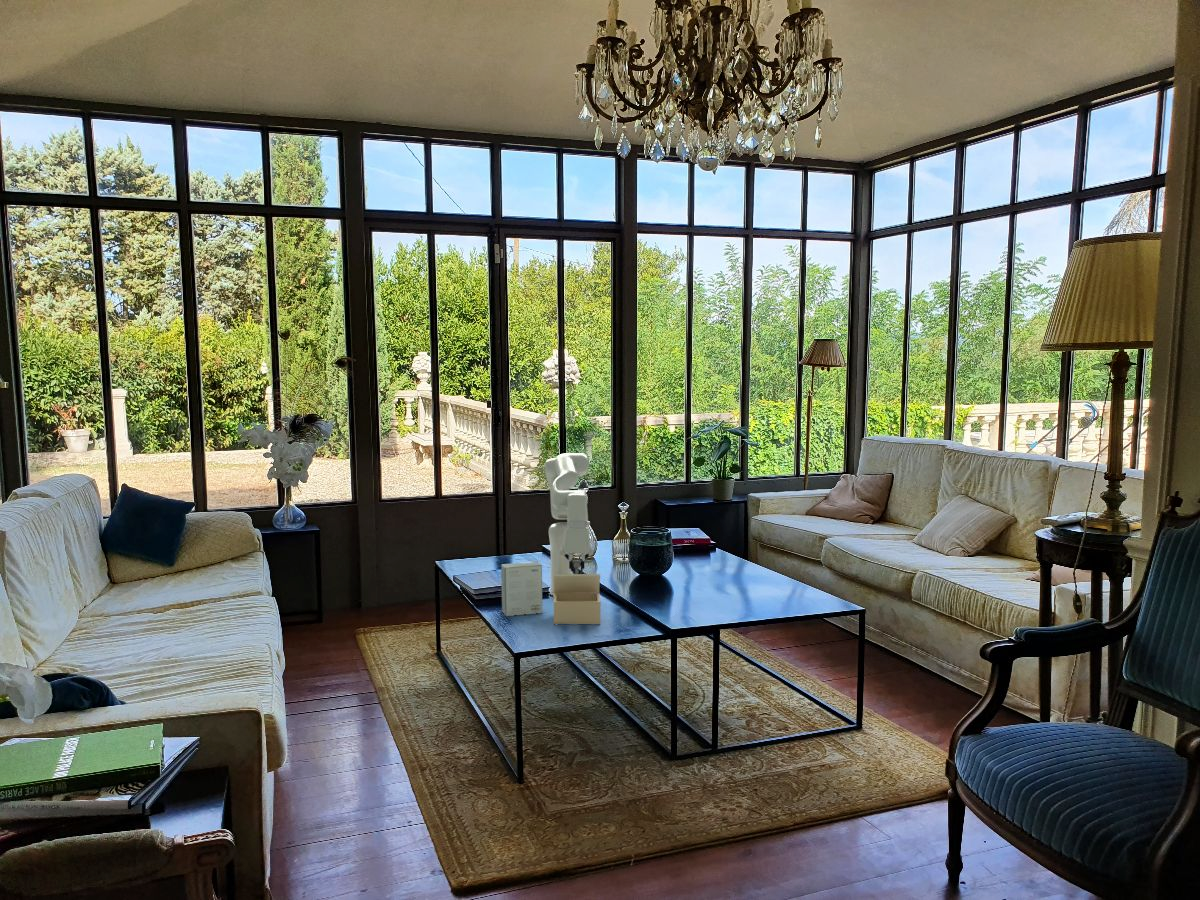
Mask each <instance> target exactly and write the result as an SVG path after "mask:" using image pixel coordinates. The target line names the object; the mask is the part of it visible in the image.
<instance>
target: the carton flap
mask: <svg viewBox="0 0 1200 900" xmlns="http://www.w3.org/2000/svg"><path fill="white" fill-rule="evenodd" d="M580 568H581V560H573V569H575V571H574V572H575V574H574V573H572V574H554V593H599V594H600V585H601V584H600V583H601V574H600V573H579V569H580Z"/></svg>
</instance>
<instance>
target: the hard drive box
mask: <svg viewBox="0 0 1200 900" xmlns="http://www.w3.org/2000/svg"><path fill="white" fill-rule="evenodd" d="M500 567H501V568H500V569H501V570H500V573H501V575H500V577H501V609H502V610H501V612H502V613H504V614H503V615H504V616H505V617H515V616H514V615H517V616H524V614H526V615H537V614H536V613H538V614H543V613H542V612H544V611H543V565H542V564H541V563H540V562H539V561H526V562H525V561H524V562H515V563H504V564H503V563H502V564H501V565H500Z"/></svg>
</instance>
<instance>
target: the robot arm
mask: <svg viewBox="0 0 1200 900" xmlns="http://www.w3.org/2000/svg"><path fill="white" fill-rule="evenodd" d="M589 469H590V461H589V457H588V455H586V454H585V453H582V452H578V453H577V452H575V453H573V452H571V453H569V452H567V453H561V454H559V455H557V456H556V457H551V458H549V459H546V461H544V475H545V479H546V481H547V484H548V486H549V492H550V494H549V495H550V513H551V517H552V518H553V519H555V520H567V521H566V522H563V521H562V522H561V521H560V522H556V523H552V524H550V526H549V527H548V537H549V538H548V539H549V547H550V589H551V591H550V594H552V595H554V574H573V571H574V567H573V562H574V560H573V555H574V554H578V555H579V554H581V559H580V563H581V566H580V572H583V570H584V569H585V561H586V560H587V559H588V558H589V557H591V556H593V555H594V551H593V548H592V547H591V544H590V543H591V542H590V531H589V526H590V525H591V521H589V514H588V501H589V499H588V494H587V493H586V491H585V490H582V489H573V490H572V488H573V487H575V486H576V485H577V484H578V482H579V480H580V479H579V478H580V477H584V476H585V474H587V472H588V471H589Z"/></svg>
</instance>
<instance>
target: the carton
mask: <svg viewBox="0 0 1200 900" xmlns="http://www.w3.org/2000/svg"><path fill="white" fill-rule="evenodd" d="M601 607H602V606H601V596H600V592H599V593H554V596H553V625H554V624H602V623H601V620H602V619H601V611H602V609H601Z"/></svg>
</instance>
